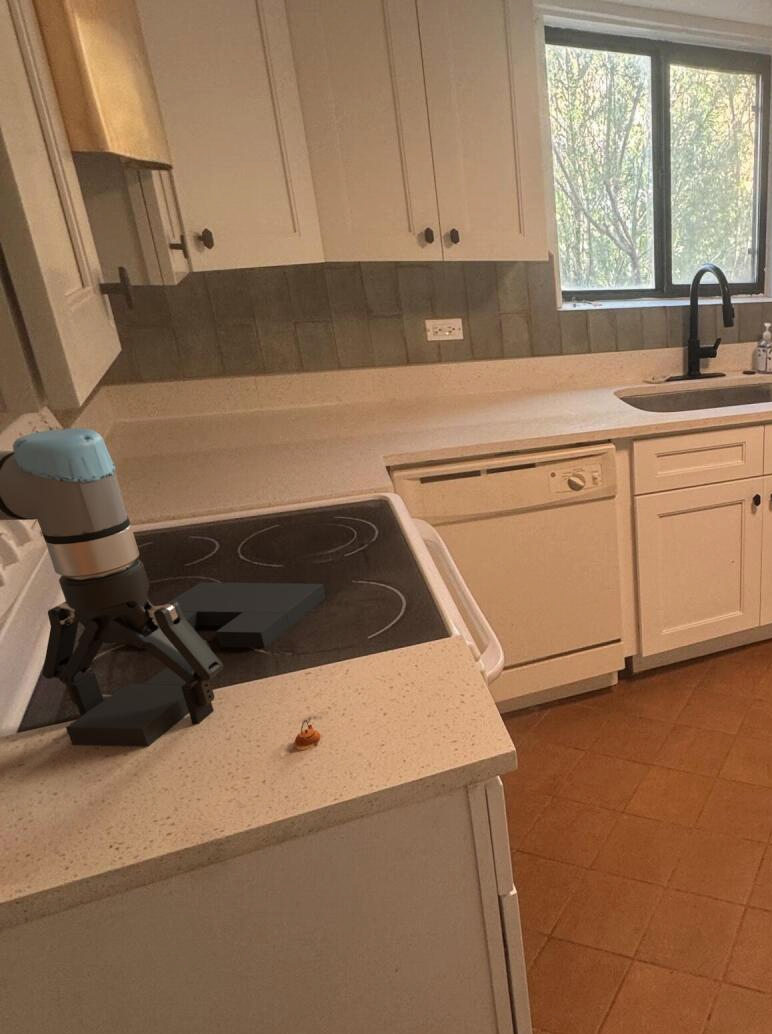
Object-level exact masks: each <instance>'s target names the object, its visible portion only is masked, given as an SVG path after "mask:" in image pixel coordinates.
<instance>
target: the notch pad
mask: <svg viewBox="0 0 772 1034" xmlns="http://www.w3.org/2000/svg"><path fill="white" fill-rule="evenodd" d="M324 588H325V587H324V584H323V583H289V582H287V583H283V582H281V583H280V582H279V583H277V582H214V581H213V582H211V581H210V582H208V581H207V582H205V581H204V582H203V581H201V582H199V583H198V584H196V585H194V586H192V587H191V588H189V589H187V590H186V591H184V592H183V593H181V594H179V595H178V596H176V597H174V598H173V599H172V600H170V601H168V602H167V603H165V604H164V605H166V604H168V603H169V602H171V601H176V602H177V603H178V604H179V605H180V608H181V610H182V613H183V615H184V618H185V619H186V620H187V621H188V622H189V624H190V625H191V626H192V627H193V629H194V630H195V631H196V630H197V629H199V628H201V627H220V628H218V630H216V631H215V634H216V637H217V641H218V645H219V647H220V648H256V649H257V648H259V649H265V648H267V647H268V646H269V645H270V644H271V643H272V642H274V641H275V640H276V639H277V638H279V637H280V636H281V635H282V634H283V633H285V632H287V630H288V629H290V628H291V627H292V626H293V625H295V624H296V623H297V622H298V621H299V620H300V619H301V618H303V617H304V616H306V615H307V614H309V612H310V611H312V610H313V609H314V608H315V607H317V605H319V604H320V603H321V602H322V601H324V600H325V599H326V598H327V597H326V592H325V589H324ZM151 633H152V631H151V630H150V629H148V631H147V633H146V634H145V635H144V637H145V636H147V635H149V634H151ZM126 645H127V646H128V647H129V646H132V647H133V646H134V647H136V646H135V645H134V644H133V643H130V644H126Z"/></svg>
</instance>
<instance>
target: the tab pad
mask: <svg viewBox="0 0 772 1034" xmlns="http://www.w3.org/2000/svg"><path fill="white" fill-rule="evenodd" d="M192 672H193V673H194V672H195V671H194V670H193V669H192ZM185 683H187V682H186V681H184V680H183V679H182V678H181V677H179V676H178V675H177V674H176V673H174V672H173V671H172V670H171V669H170V668H168V667H165V668H164V669H162V670H161V671H159V672H158V673H157V674H155V675H154V676H153V677H151V678H150V679H148V680H147V681H146V682H144V683H142V684H140V683H139V684H138V683H126V684H125V685H123V686H122V687H120V688H119V689H118V690H116V692H114V693H112V694H111V695H110V696H107V698H105V699H104V701H103V702H101V703H100V704H98V705H97V706H95V707H94V708H93V709H91V710H90V711H88V712H87V713H85V714H84V715H83V716H81V715H80V717H78V718H76V719H75V720H74V721H72V722H71V723H70V724H68V725H67V726H66V727H65V729H66V732H67V735H68V736H69V740H70V742H71V746H88V747H89V746H92V747H93V746H94V747H95V746H96V747H97V746H98V747H139V748H142V747H144V748H147V747H150V746H151V745H152V744H154V743H156V742H157V740H159V738H161V737H162V736H164V734H166V733H167V732H168V731H170V729H172V728H173V727H174V726H176V725H177V724H178V723H179V722H180V721H181V720H183V719H184V718H185V717H186V716H187V715H190V714H189V711H188V707H187V704H186V701H185V698H184V694H183V691H182V688H181V686H183V685H184V684H185Z"/></svg>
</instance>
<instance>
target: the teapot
mask: <svg viewBox="0 0 772 1034" xmlns="http://www.w3.org/2000/svg"><path fill="white" fill-rule="evenodd" d="M305 723H306V724H307V729H304V724H305ZM320 740H321V733H320V732H319V731H318V730H316V729H314V727H313V725H312V724H309V722H308V720H307V719H305V720H303V721H302V723H301V727H300V732H299V733H298V734H297V735H296V737H295V739H294V747H295V748H296V749H297V750H301V751H303V750H310V749H314V748H315V747H317V746H318V743H319V742H320Z"/></svg>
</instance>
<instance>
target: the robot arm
mask: <svg viewBox="0 0 772 1034" xmlns="http://www.w3.org/2000/svg"><path fill="white" fill-rule="evenodd" d="M116 470H117V469H116V465H115V463H114V461H113V460H112V457H111V454H110V452H109V450H108V447H107V445H106V442H105V440H104V438H103V436H102V435H101V434H100V433H98V432H97V431H96V430H93V429H89V428H83V427H80V428H79V427H71V428H70V427H69V428H64V429H63V428H62V429H48V430H43V431H37V432H32V433H29V434H25V435H23V436H20V437H18V438H17V439H16V440H15V441H13V444H12V450H0V521H21V520H22V521H33V520H34V521H35V520H37V523H38V525H39V528H40V530H41V534H42V536H43V539H44V541H45V544H46V548H47V550H48V554H49V556H50V560H51V563H52V566H53V569H54V573H56V574H57V575H59V576H60V577H59V579H58V582H59V585H60V589H61V591H62V594H63V596H64V600H65V601H64V602H62V603H59V604H58V605H55V606H54V607H52V608H50V609H48V610H47V617H48V620H49V625H50V629H49V634H48V635H49V636H48V641H47V645H46V652H45V653H46V654H45V658H44V664H43V668H42V676H43V677H44V678H46V679H48V680H51V679H53V678H55V679H59V681H60V682H61V683H62V684H64V685H65V686H66V689H67V692H68V695H69V698H70V700H71V702H72V703H73V704H74V705H76V706H77V709H78V712H79V714H80V715H79V716H80V717H81V716H83V715H84V714H85V713H87V712H88V711H90V710H91V709H93V708H94V707H95V706H97V705H98V704H100V703H101V702H103V701H104V700H105V699H104V696H103V693H102V690H101V688H100V685H99V681H98V678H97V676H96V673H95V672H88V671H90V670H91V669H92V667H90V666H91V664H92V663H93V661H94V660H95V658H96V656H97V654H98V652H99V651H100V650H101V647H102V645H103V644H115V643H120V644H125V645H127V644H130V643H133V644H134V645H135V646H134V647H137V648H138V649H144V650H146V651H147V652H149V653H150V655H152V656H153V657H155V659H157V660H158V661H159V662H161V663H162V664H163V665H164V666H166V668H170V669H171V670H172V671H173V672H174V673H176V674H177V675H178V676H179V677H181V678H182V679H183V680H184V681H186V682H187V683H185V684H184V685H183V686H181V688H182V691H183V694H184V698H185V701H186V704H187V707H188V711H189V714H188V715H189V717H190V720H191V724H192V725H199V724H200V723H202V722H203V721H204V720H205V719H206V718H208V717H209V716H210V715H211V714H213V712H215V710H214V705H213V703H212V702H213V701H214V700H215V694H214V693H215V692H214V690H213V687H212V683H211V679H212V678H213V677H215V676H216V675H218V674H219V673H220V672H221V671H223V669H224V667H225V666H224V664H223V662H222V661H221V659H220V658H218V656H217V655H216V654H215V653H214V652H213V650H212V649H211V648H210V646H209V645H208V644H207V643H206V642H205V640H204V639H203V638H202V637H201V636H200V634H198V631H196V630H194V629H193V627H192V626H191V625H190V624H189V622H188V621H187V620H186V619H185V618H184V615H183V613H182V610H181V608H180V605H179V604H178V603H177V602H176V601H171V600H170V601H171V602H170V601H168V602H169V603H168V602H167V603H168V604H166V603H165V604H166V605H165V604H163V605H153V603H152V602H151V601H150V600H149V596H148V594H149V589H150V582H149V578H148V575H147V572H146V569H145V565H144V563H143V560H141V559H139V557H140V551H139V547H138V544H137V542H136V538H135V534H134V530H133V528H132V524H131V521H130V517H129V515H128V513H127V510H126V507H125V502H124V498H123V495H122V491H121V487H120V483H119V479H118V476H117V472H116ZM79 623H80V624H81V625H82V626H83V627H84V630H83V631H82V632H81V635H80V636H79V638H78V640H77V642H78V644H77V646H76V648H75V644H76V643H75V642H76V638H77V633H78V628H79ZM148 629H150V630H151V631H152V633H151V634H149V635H147V636H145V637H144V635H145V634H146V633H147V631H148ZM74 648H75V649H74ZM192 669H193V670H194V671H195V672H194V673H193V672H192ZM87 672H88V673H87ZM85 673H86V674H85Z"/></svg>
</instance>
